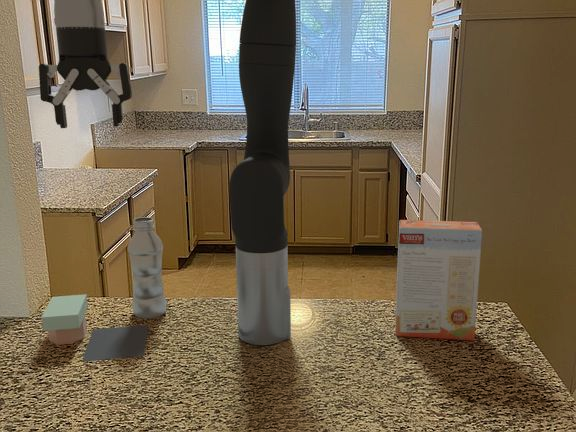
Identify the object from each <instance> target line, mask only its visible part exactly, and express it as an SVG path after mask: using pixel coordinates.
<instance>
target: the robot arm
mask: <svg viewBox="0 0 576 432" xmlns="http://www.w3.org/2000/svg"><path fill="white" fill-rule="evenodd" d="M53 3H54V4H53V14H54V15H53V16H54V20H53V21H54V25H55V33H56V39H57V40H56V42H57V53H58V63H57V64H49V63H40V64H39V65H38V75H39V76H38V77H39V78H38V79H39V95H40V100H41V101H42V102H46V103H49V104H51V105H52V106H53V109H54V118H55V123H56V125H58V126H59V127H60V129H67V128H68V120H67V119H68V118H67V112H66V105H65V104H64V102H65V100H66V98H68V95H70V93H71V92H72V91H73V90H75V91H77V92H78V91H85V90H86V91H87V90H88V91H98V90H101V91H102V92H103V93H104V94H105V95H106V96H107V97H108V98H109V99H110V100H111V102H112V104H111V110H112V112H111V113H112V123H113V127H115V128H119V126H120V124H122V123H123V120H124V118H123V107H122V104H123V103H124V102H125V101H128V100H130V99H132V97H133V95H132V94H133V93H132V86H131V79H130V72H129V66H128V64H127V63H126V62H122V63H120V64H111V63H110V61H109V57H108V48H107V47H108V46H107V38H106V37H107V35H106V24H105V15H104V8H103V4H102V3H103V2H102V0H54V1H53ZM296 9H297V8H296V0H245V3H244V8H243V13H242V19H241V24H240V25H241V26H240V30H239V31H240V33H239V47H238V49H239V52H238V74H239V76H238V77H239V83H240V89H241V95H242V101H243V105H244V110H245V115H246V116H245V117H246V139H245V140H246V142H245V148H244V150H245V151H244V156H243V160H242V161H241V162H239V163H238V164H237V165H236V166H235V167H234V169H233V170H232V172H231V175H230V179H229V186H228V189H229V190H228V191H229V193H228V194H229V211H230V222H231V223H230V225H231V230H232V234H233V236H234V240H235V244H234V245H235V269H236V272H235V273H236V274H235V275H236V276H235V277H236V298H237V301H236V303H237V305H236V306H237V330H238V331H237V332H238V333H237V335H238V337H239V339H240V340H241V341H243V342H245V343H246V344H250V345H256V346H268V345H269V346H270V345H275V344H278V343H281V342H283V341H286V340H290V339H291V338H292V337H291V334H292V333H291V331H292V330H291V329H292V327H291V322H292V321H291V319H292V318H291V317H292V316H291V310H292V309H291V288H290V286H289V268H288V266H289V264H288V263H289V262H288V261H289V259H288V258H289V256H288V254H289V253H288V250H289V249H288V243H289V241H288V237H289V236H288V230H287V229H286V227H285V214H284V213H285V211H284V205H285V204H284V196H285V195H286V193H287V191H288V190H289V186H290V184H291V183H290V182H291V181H290V180H291V170H290V165H291V164H290V156H289V155H290V152H289V150H290V149H289V146H290V145H289V121H290V116H291V115H290V112H291V107H292V106H291V105H292V99H293V98H292V97H293V89H294V77H295V67H296V54H297V47H296V46H297V12H296V11H297V10H296ZM56 72H57V73H58V74H59V75H60V76H61V78H62V79H63V80H64V81H63V82H62V84H61V86H60V87H59V89H58V91H57V93H56V94H55V95H53V94H52V79H51V78H54V77H55V74H56ZM112 72H114V73H115V76H116V77H118V78H120V83H121V91H122V94H119V93H118V92H117V91H116V90H115V89H114V88H113V86H112V85H111V84H110V83H109V82H108V81H107V79H108V77H109V76H110V75H111V73H112Z"/></svg>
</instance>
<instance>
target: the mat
mask: <svg viewBox="0 0 576 432" xmlns="http://www.w3.org/2000/svg"><path fill="white" fill-rule="evenodd" d="M148 329H149V324H141V325H130V326H129V325H128V326H118V327H105V328H93V329H92V331H91V334H90V337H89V340H88V342H87V346H86V348H85V351H84V353H83V357H82V358H81V359H82V360H81V363H84V362H95V361H105V360H117V359H127V358H138V357H140V358H141V357H145V353H146V351H145V350H146V346H147V345H146V344H147V337H148V331H149V330H148Z"/></svg>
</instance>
